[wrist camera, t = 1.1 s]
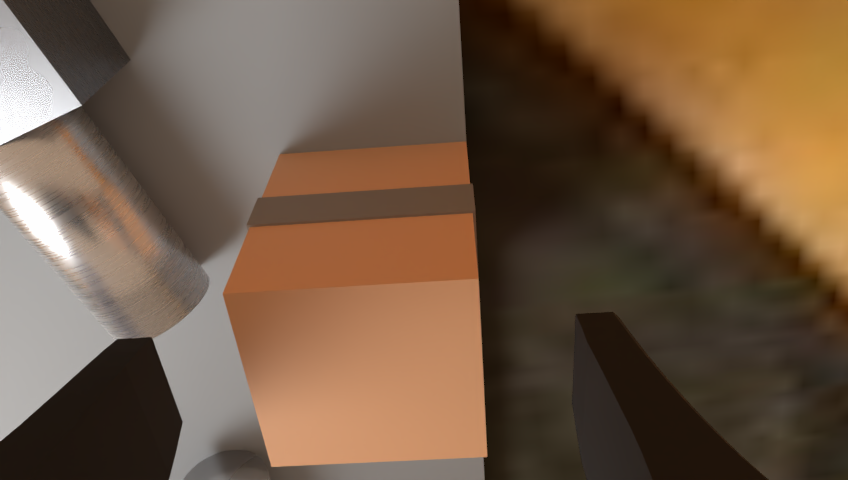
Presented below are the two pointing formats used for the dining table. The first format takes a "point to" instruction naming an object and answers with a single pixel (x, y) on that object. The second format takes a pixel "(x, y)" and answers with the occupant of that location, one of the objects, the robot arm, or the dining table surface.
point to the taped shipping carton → (363, 307)
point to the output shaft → (83, 174)
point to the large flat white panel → (232, 182)
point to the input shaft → (230, 467)
